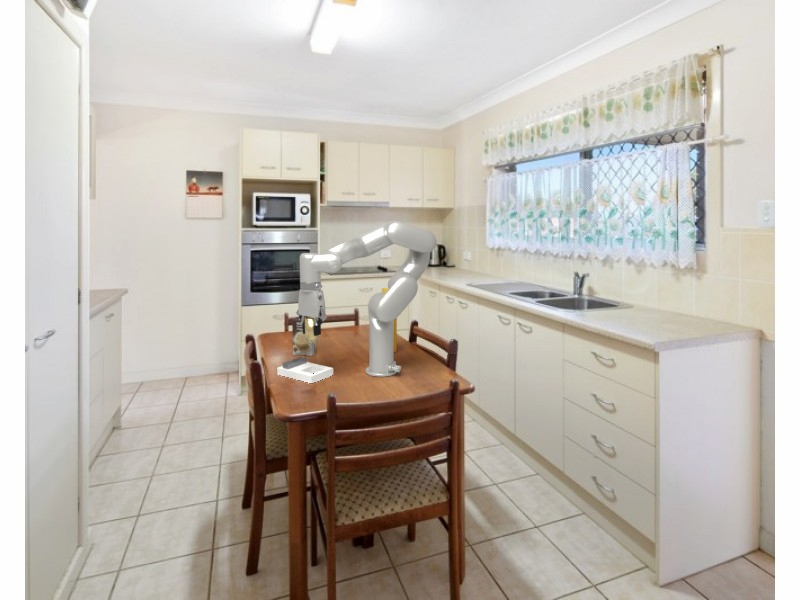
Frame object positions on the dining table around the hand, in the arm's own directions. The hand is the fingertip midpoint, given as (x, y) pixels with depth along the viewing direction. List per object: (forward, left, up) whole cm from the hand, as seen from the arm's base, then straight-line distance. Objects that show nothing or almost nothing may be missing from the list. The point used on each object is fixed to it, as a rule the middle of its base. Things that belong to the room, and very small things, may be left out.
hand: (311, 333), depth 181 cm
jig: (+4, 0, -17) cm, 18 cm away
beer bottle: (-3, -45, -17) cm, 48 cm away
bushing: (0, 0, -3) cm, 3 cm away
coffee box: (+25, -21, -17) cm, 37 cm away
